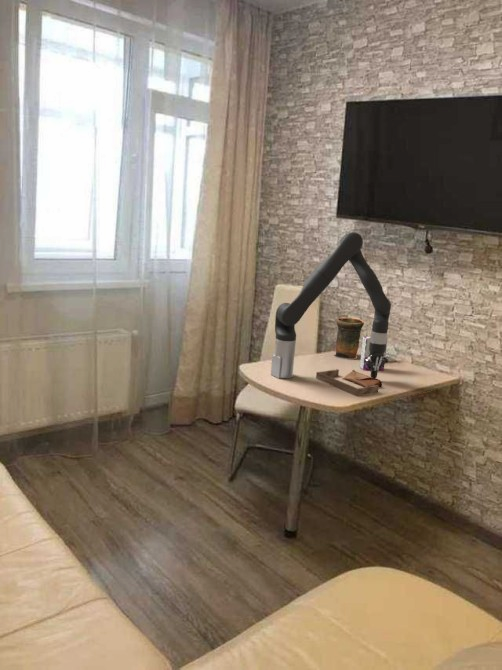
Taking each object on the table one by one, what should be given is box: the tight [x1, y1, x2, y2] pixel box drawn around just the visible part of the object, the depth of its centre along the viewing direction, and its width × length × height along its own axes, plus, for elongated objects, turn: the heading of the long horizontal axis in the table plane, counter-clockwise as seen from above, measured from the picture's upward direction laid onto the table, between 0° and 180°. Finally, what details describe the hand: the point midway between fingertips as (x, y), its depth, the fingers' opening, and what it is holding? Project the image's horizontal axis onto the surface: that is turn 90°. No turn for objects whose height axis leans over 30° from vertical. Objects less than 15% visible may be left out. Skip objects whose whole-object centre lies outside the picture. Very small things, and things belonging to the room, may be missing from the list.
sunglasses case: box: [341, 369, 383, 389], centre depth 252 cm, size 18×7×7 cm, turn 38°
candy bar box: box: [359, 335, 388, 371], centre depth 274 cm, size 11×5×16 cm, turn 101°
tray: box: [315, 368, 380, 397], centre depth 246 cm, size 13×26×3 cm, turn 35°
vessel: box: [333, 317, 365, 361], centre depth 295 cm, size 14×14×20 cm
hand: (373, 377), depth 257 cm, fingers closed
